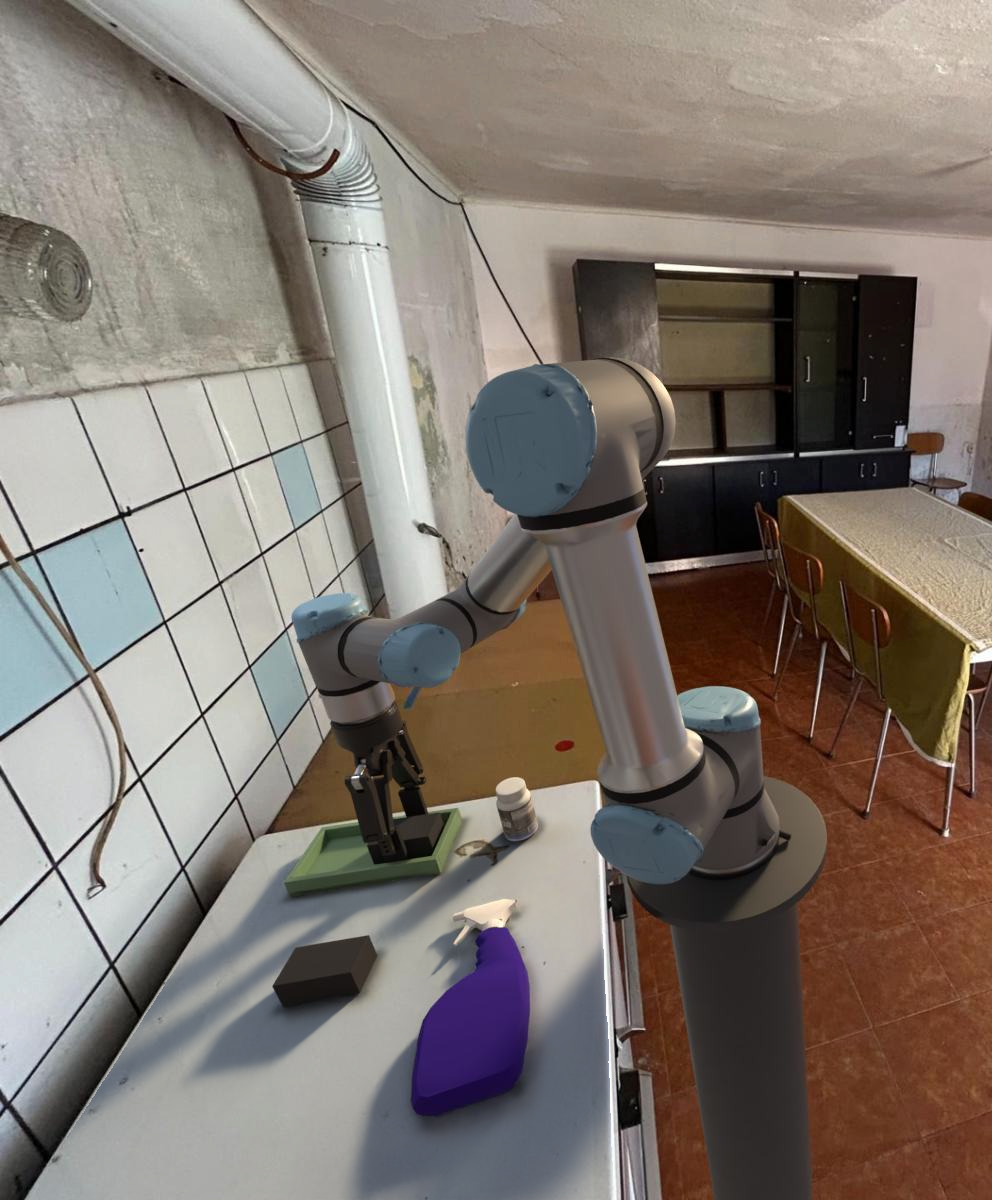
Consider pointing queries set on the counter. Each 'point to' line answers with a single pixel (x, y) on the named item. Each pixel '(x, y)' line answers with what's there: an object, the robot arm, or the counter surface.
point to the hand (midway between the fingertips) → (410, 844)
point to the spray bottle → (475, 1022)
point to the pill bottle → (516, 809)
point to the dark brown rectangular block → (325, 971)
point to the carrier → (362, 859)
